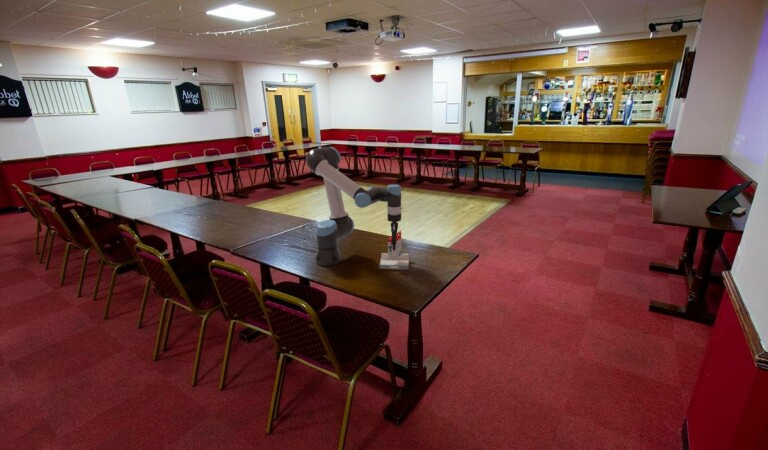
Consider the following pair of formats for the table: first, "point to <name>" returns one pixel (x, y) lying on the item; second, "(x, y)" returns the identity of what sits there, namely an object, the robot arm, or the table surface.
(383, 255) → the shelf
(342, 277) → the table surface
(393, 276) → the table surface
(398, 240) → the ink box
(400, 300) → the table surface
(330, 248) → the robot arm
